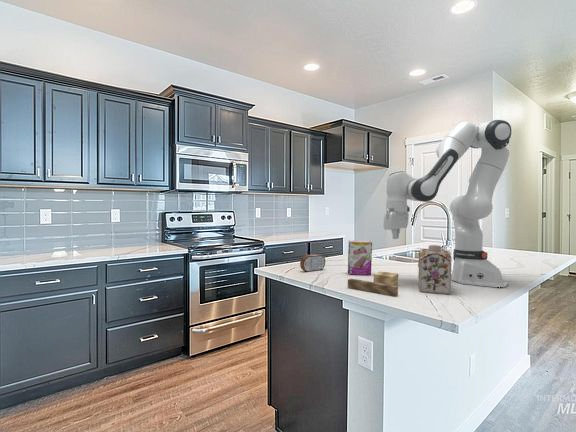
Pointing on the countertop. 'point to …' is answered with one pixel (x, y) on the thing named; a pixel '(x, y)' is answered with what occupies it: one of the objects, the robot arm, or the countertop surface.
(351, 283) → the walnut board
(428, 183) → the robot arm
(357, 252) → the candy bar box
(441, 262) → the decorative jar
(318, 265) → the tin
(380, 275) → the oak block
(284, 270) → the countertop surface
